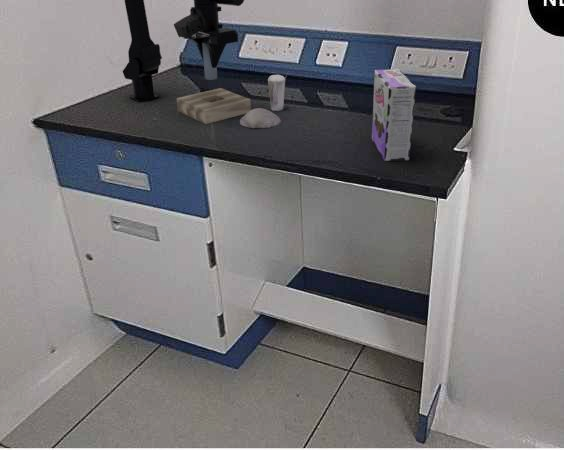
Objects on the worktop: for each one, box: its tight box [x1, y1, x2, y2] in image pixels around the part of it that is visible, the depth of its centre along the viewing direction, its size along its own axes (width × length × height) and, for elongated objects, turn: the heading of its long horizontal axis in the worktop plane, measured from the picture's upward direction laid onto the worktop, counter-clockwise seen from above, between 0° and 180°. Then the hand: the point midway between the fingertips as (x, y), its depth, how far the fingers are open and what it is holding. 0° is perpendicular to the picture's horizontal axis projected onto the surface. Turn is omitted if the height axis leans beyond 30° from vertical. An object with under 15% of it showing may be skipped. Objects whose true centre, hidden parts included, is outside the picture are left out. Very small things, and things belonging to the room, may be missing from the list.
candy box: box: [371, 68, 417, 162], centre depth 137 cm, size 14×6×16 cm, turn 5°
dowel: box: [202, 43, 218, 81], centre depth 160 cm, size 3×3×9 cm
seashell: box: [239, 107, 282, 129], centre depth 158 cm, size 10×6×10 cm
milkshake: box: [267, 72, 289, 112], centre depth 165 cm, size 5×5×10 cm
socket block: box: [176, 87, 252, 125], centre depth 166 cm, size 14×14×4 cm
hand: (210, 66), depth 161 cm, fingers closed on dowel, 3 cm apart
